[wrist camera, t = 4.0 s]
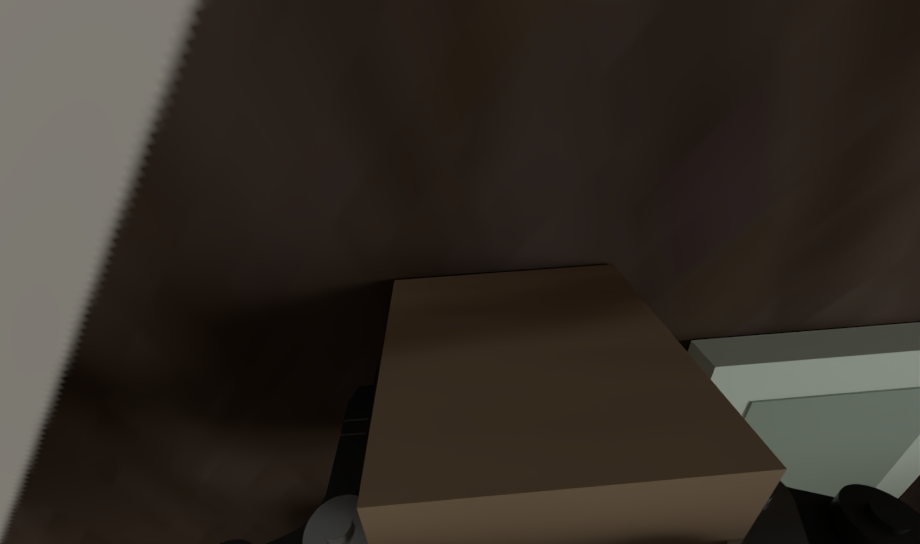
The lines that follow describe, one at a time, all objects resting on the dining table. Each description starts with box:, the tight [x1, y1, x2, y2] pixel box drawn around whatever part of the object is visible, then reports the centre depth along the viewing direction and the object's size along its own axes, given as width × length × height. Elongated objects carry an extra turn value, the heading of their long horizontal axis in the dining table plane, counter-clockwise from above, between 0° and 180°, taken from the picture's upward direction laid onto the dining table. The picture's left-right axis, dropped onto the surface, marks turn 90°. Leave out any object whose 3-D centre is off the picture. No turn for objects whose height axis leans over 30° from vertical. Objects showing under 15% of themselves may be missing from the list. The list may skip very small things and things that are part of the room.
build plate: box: [688, 322, 920, 498], centre depth 14 cm, size 10×10×1 cm
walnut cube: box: [357, 264, 787, 544], centre depth 9 cm, size 6×6×6 cm
